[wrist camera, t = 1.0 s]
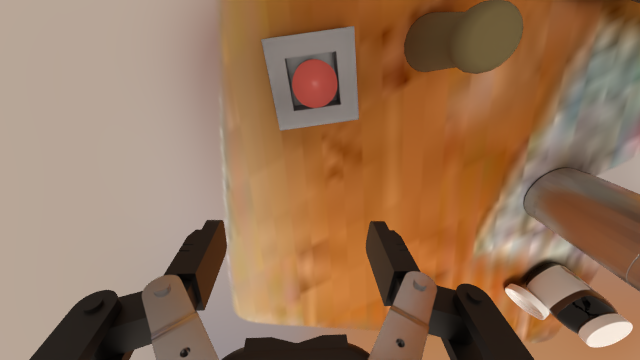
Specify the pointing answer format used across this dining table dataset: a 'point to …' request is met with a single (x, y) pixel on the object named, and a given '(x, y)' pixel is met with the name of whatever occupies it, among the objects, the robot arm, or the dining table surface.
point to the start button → (314, 83)
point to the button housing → (322, 46)
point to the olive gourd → (465, 38)
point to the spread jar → (570, 305)
